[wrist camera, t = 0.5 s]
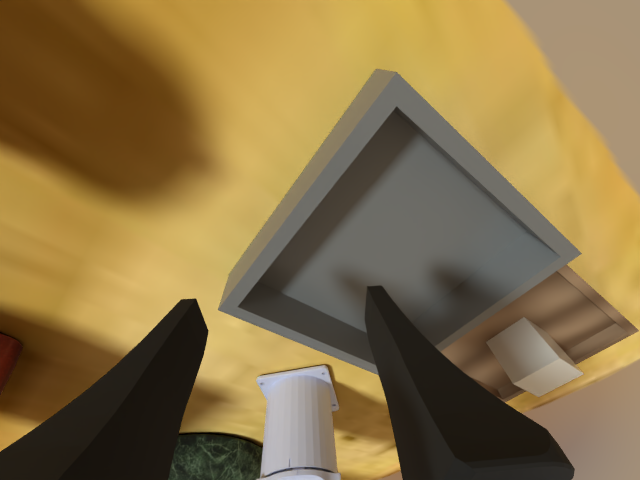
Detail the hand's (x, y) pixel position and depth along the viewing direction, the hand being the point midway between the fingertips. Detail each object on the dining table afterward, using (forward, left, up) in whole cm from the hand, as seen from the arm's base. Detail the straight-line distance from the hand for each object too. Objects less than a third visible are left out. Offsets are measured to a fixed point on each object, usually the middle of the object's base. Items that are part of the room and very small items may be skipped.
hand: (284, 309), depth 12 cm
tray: (-19, -19, -10) cm, 29 cm away
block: (-19, -19, -9) cm, 29 cm away
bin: (-5, -6, -10) cm, 13 cm away
